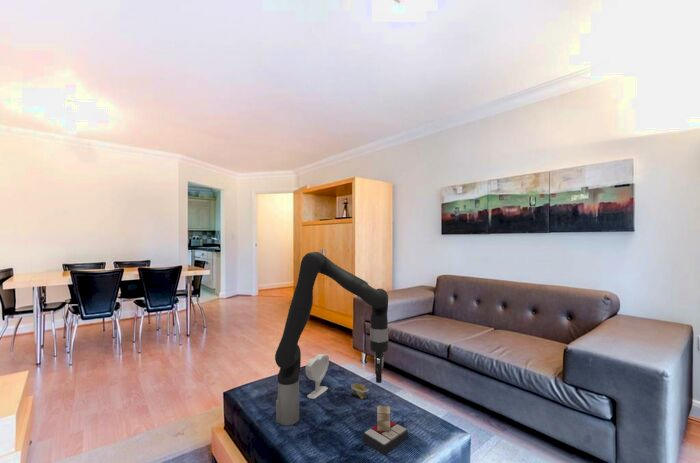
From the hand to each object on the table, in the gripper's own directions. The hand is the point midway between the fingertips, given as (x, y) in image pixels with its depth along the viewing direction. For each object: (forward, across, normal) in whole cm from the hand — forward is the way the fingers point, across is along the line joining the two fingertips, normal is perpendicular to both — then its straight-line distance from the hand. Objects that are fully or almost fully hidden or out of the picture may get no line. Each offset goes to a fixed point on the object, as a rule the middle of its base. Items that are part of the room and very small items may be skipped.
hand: (379, 377), depth 129 cm
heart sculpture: (+22, -28, -33) cm, 49 cm away
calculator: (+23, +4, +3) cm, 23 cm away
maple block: (+18, +3, +2) cm, 19 cm away
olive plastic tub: (+23, -26, -12) cm, 36 cm away
